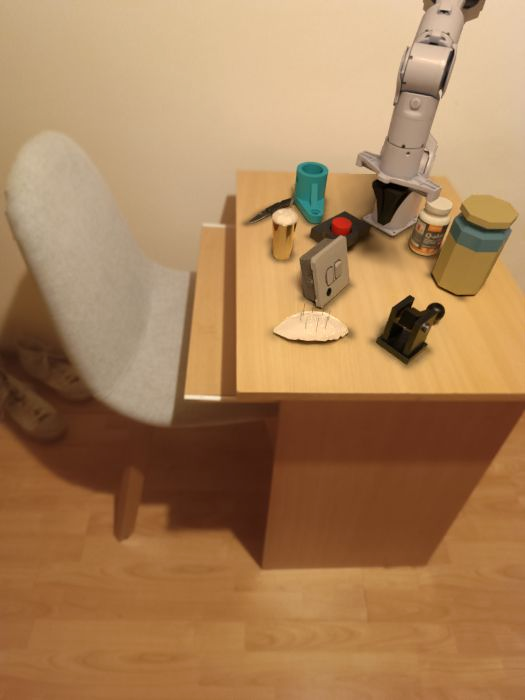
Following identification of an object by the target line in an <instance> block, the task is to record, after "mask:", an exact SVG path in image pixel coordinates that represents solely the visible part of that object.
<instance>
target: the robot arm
mask: <svg viewBox="0 0 525 700" xmlns="http://www.w3.org/2000/svg"><path fill="white" fill-rule="evenodd" d="M486 1H487V0H422V3H423V6H422V11H424V14H423V15H422V18H421V19H420V23H419V24H418V27H417V30H416V33H415V36H414V39H413V41H412V43H411V46H409V45H407V46H406V47H405V50H404V51H403V54H402V57H401V61H400V63H399V66H398V67H399V68H398V71H397V77H396V82H395V83H396V84H395V94H394V98H393V102H392V103H393V104H392V106H393V107H394V108H393V111H392V114H391V118H390V122H389V127H388V131H387V135H386V136H385V137H384V142H383V145H382V147H381V149H380V151H379V152H380V153H379V154H377V153H373V152H371V151H368V150H365V149H364V150H363V151H361V152H359V153H357V157H356V161H355V166H356V167H358V168H363V167H364V168H365V169H367V170H369V171H371V172H374V173H375V174H376V177H377V178H376V179H374V180H373V181H372V182H371V188H372V192H373V194H374V197H375V203H374V207H373V211H372V212H371V213H369V214H367V215H365V216H363V217H362V221H364V222H365V223H367V224H369V225H371V227H372V226H373V227H374V228H376V229H378V230H380V231H381V232H383V233H384V234H387V235H388V236H390V237H395V236H397V235H398V234H400V233H402V232H403V231H405V230H407V229H408V228H410V227H413V225H414V226H415V224H416V221H417V218H418V214H419V209H420V207H421V205H422V202H423V201H422V200H423V198H424V199H425V202H426V201H428V202H430V203H431V202H433V201H435V200H436V199H438V197H439V196H440V194H441V192H442V189H443V186H441V185H440V184H438V183H437V182H434V181H433V180H432V179H431V178H430V175H431V173H432V168H433V165H434V162H435V159H436V154H437V151H438V147H439V146H438V141H437V139H436V138H435V137H434V136H433V135H432V133H431V129H432V126H433V124H434V121H435V120H434V119H435V117H436V113H437V110H438V107H439V105H440V100H442V99H443V97H444V95H445V94H446V92H447V90H448V85H449V84H450V80H451V76H452V73H453V70H454V67H455V64H456V60H457V54H458V53H457V52H458V45H459V41H460V38H461V35H462V32H463V30H464V25H466V23H467V22H470V21H474V20H476V19H478V18H479V16H480V14H481V12H482V11H483V9H484V8H485V7H484V6H485V4H486ZM440 92H441V95H440Z"/></svg>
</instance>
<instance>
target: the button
mask: <svg viewBox="0 0 525 700" xmlns="http://www.w3.org/2000/svg"><path fill="white" fill-rule="evenodd" d="M351 225H352V223H351V221H350V220H349V219H347V218H343V217H338V218H335V219H333V221H332V226H331V231H332V232H333V233H334V234H336V235H341V236H342V235H348V234H349V233H350V230H351Z"/></svg>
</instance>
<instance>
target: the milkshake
mask: <svg viewBox="0 0 525 700" xmlns="http://www.w3.org/2000/svg"><path fill="white" fill-rule="evenodd" d="M293 201H294V198H293V199H291V203H290V205H289V206H288V208H280V209H279V210H277V211H274V212H273V215H271V224H272V255H273V258H275V259H277V260H279V261H285V260H288V259H289V258H290V257H291V254H292V249H293V244H294V239H295V233H296V229H297V225H298V220H299V217H298V214H297V212H295V211H294V210H292V209H293V206H294V203H293Z"/></svg>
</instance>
